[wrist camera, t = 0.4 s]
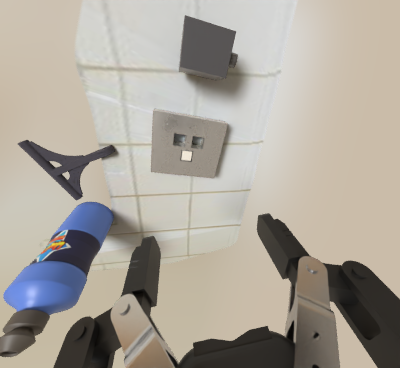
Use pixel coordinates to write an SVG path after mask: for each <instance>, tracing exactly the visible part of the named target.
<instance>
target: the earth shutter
mask: <svg viewBox="0 0 400 368" xmlns="http://www.w3.org/2000/svg"><path fill="white" fill-rule="evenodd" d="M191 156H192V151H188V150H182V156H181V160H186V161H191Z"/></svg>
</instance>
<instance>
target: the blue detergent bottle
mask: <svg viewBox="0 0 400 368" xmlns="http://www.w3.org/2000/svg"><path fill="white" fill-rule="evenodd" d="M113 219H114V216H113V213H112V211H111V210H110V209H109V208H108V207H106V206H104V205H102V204H100V203H97V202H85V203H82V204H80V205H78V206H77V207H76V208H75V209H74V210H73V212H72V213H71V214H70V215H69V217H68V218H67V219H66V220H65V221H64V222H63V224H62V225H61V226H60V227H59V229H58V230H57V231H56V232H55V234H54V235H53V236H52V238H51V240H50V242H49V243H48V245H47V247H46V248H45V250H44V251H43V252H42V253H41V254H40V255H39V256H38V257H37V258H36V259H35V260H34V261H33V262H32V263H31V264H30V265H29V266H27V267H26V268H24V269H23V270H22V272H21V273H20V274H19V275H18V276H17V277H16V279H15V280H14V281H13V282H12V283H11V285H10V286H9V287H8V288H7V290H6V291H5V293H4V300H5V301H6V302H7V303H8V304H9V305H10V306H12V307H14V308H15V309H16V310H17V312H16V313H14V314H13V316H12V317H11V318H10V320H9V321H8V323H7V324H6V326H5V327H4V328H3V332H4V333H5V335H3V336H2V337H0V356H2V357H13V356H16V355H18V354H19V353H21V352H22V351H24V350H25V349H27V348H28V347H29V346H31V345H32V344H34V343H35V341H36V340H35V335H38V334H40V333H42V331H43V329H44V327H45V325H46V324H47V321H48V320H49V318H50V316H49V315H51V314H53V313H57V312H61V311H65V310H68V309H70V308H72V307H73V306H74V305H75V304H76V303H77V302H78V299H79V297H80V295H81V292H82V290H83V288H84V286H85V284H86V281H87V275H88V272H89V269H90V266H91V263H92V261H93V259H94V258H95V256H96V255H97V253H98V252H99V250H100V248H101V246H102V244H103V242H104V240H105V237H106V235H107V233H108V231H109V229H110V226H111V224H112V222H113Z"/></svg>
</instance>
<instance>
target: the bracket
mask: <svg viewBox="0 0 400 368" xmlns="http://www.w3.org/2000/svg"><path fill="white" fill-rule="evenodd" d="M18 145H19V146H20V147H21V148H22V149H23V150H25V152H27V153H28V154H29V155H30V156H31V157H32V158H33V159H34V160H35V161H36V162H37V163H38V164H39V165H40V166H41V167H42V168H43V169H44V170H45V171H46V172H47V173H48V174H49V175H50V176H51V177H53V178H54V179H55V180H56V181H57V182H58V183H59V184H60V185H61V186H62V187H63V188H64V189H65V190H66V191H67V192H68V193H69V194H70V195H71V196H72V197H73V198H74V199H75V200H78V199H80V198H81V197H82V196H83V195H82V194H83V193H82V190H81V187H80V175H81V173H82V171H83V169H84V168H85V167H86V166H87V165H88V164H89V162H91V161H93V160H96V159H99V158H102V157H105V156H108V155H110V154H111V153H113V152H114V151H115V150H114V148H113V147H112V145H110V146H108V147H105V148H103V149H101V150H97V151H95V152H93V153H90V154H88V155H85V156H83V155H82V156H65V155H61V154H57V153H54V152H51V151H48V150H47V149H44V148H42V147H40V146H39V145H37V144H35V143H33V142H32V141H31V142H29V141H28V140H26V141H23V142H20V143H18ZM49 161H56V162H58V163H60V164H61V165H62V166H60V167H54V166H53V165H52V164H51V163H50V162H49ZM67 171H68V172H69V174H70V178H69V179H68V180H67V179H66V178H65V177H64V176H63V175H62V173H64V172H67Z"/></svg>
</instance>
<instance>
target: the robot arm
mask: <svg viewBox="0 0 400 368" xmlns="http://www.w3.org/2000/svg"><path fill="white" fill-rule="evenodd" d="M257 232H258V235H259V237H260V239H261V241H262V243H263V244H264V246H265V248H266V250H267V252H268V253H269V255H270V257H271V259H272V261H273V262H274V264H275V266H276V268H277V270H278V272H279V273H280V275H281V277H282V279H286V278H289V280H290V282H291V287H290V297H289V307H288V316H287V321H286V327H285V336H283V335H281V334H279V333H276V332H273V331H269V329H268V326H265V327H261V328H256V329H252V330H249V331H247V332H246V333H244V334H243V335H241V336H240V337H238V338H237V339H235V340H233V341H225V340H217V339H208V340H204V341H199V342H195V343H193V347H194V348H193V349H191V350H190V351H189V352H188V353H187V354H186V355H185V356H184V357H183V358H182V360H181V361H180V362H179V363H178V361H177V359H176V357H175V356H174V354H173V352H172V351H171V349H170V348H169V347H168V345H167V343H166V342H165V340H164V339H163V337H162V335H161V333H160V331H159V330H158V328H157V326H156V325H155V323H154V321H153V320H152V318H151V316H150V312H151V307H154V306H156V304H157V293H158V281H159V269H160V258H161V253H160V248H159V246H158V244H157V241H156V239H155V237H154V236H151V237H146V238H143V240H142V244H141V246H139V247H136V249H135V250H134V252H133V254H132V257H131V261H130V265H129V269H128V272H127V276H126V280H125V284H124V288H123V292H122V295H121V297H120V298H119V299H118V300H117V301H116V303H115V304H114V306H113V307H112V308H111V309H110V310H108V311H106V312H105V313H103V314H101V315H99V316H98V317H96V318H94V319H93V318H91V317H84V318H82V319H80V320H79V321H77V322H76V323H75V324H74V325H73V326H72V327H71V329H70V330H69V331H68V333H67V335H66V337H65V340H64V342H63V345H62V347H61V350H60V352H59V355H58V357H57V360H56V363H55V365H54V368H112V365H113V360H114V355H115V351H116V350H117V349H119V348H120V347H122V348H123V351H124V354H125V359H124V363H125V367H126V368H340V362H339V351H338V342H337V330H336V320H335V315H334V312H333V311H331V309H330V301H331V302H334V303H335V304H336V306H337V308H338V309H339V310H340V312H341V314H342V315H343V317H344V318H345V320H346V321H347V323H348V324H349V326H350V327H351V329H352V330H353V332H354V333H355V334H356V336H357V338H358V339H359V340H360V342H361V343H362V345H363V346H364V348H365V349H366V351H367V352H368V354H369V355H370V357H371V358H372V360H373V361H374V363H375V364H376V366H377V367H378V368H400V299H399V298H398V297H397V296H396V295H395V294H394V293H393V292H392V291H391V290H390V289H389V288H388V287H387V286H386V285H385V284H384V283H383V282H382V281H381V280H380V279H379V278H378V277H377V276H376V275H375V274H374V273H373V272H372V271H371V270H370V269H369V268H368V267H366V266H364V265H363V264H360V263H358V262H355V261H346V262H344V263H343V265H342V266H341V265H332V264H325V263H322V262H320V261H319V260H318V259H315V258H313V257H311V256H309V254H308V253H307V252H306V251H305V249H304V248H303V247H302V245H301V244H300V243H299V242H298V240H297V239H296V238H295V236H293V234H292V233H291V231H289V229H288V228H287V226H286V225H285V224H284V223H283V222H281V221H280V220H278V219H275V220H274V219H273V218H272V216H271V215H270V214H263V215H259V216H258V223H257Z"/></svg>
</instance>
